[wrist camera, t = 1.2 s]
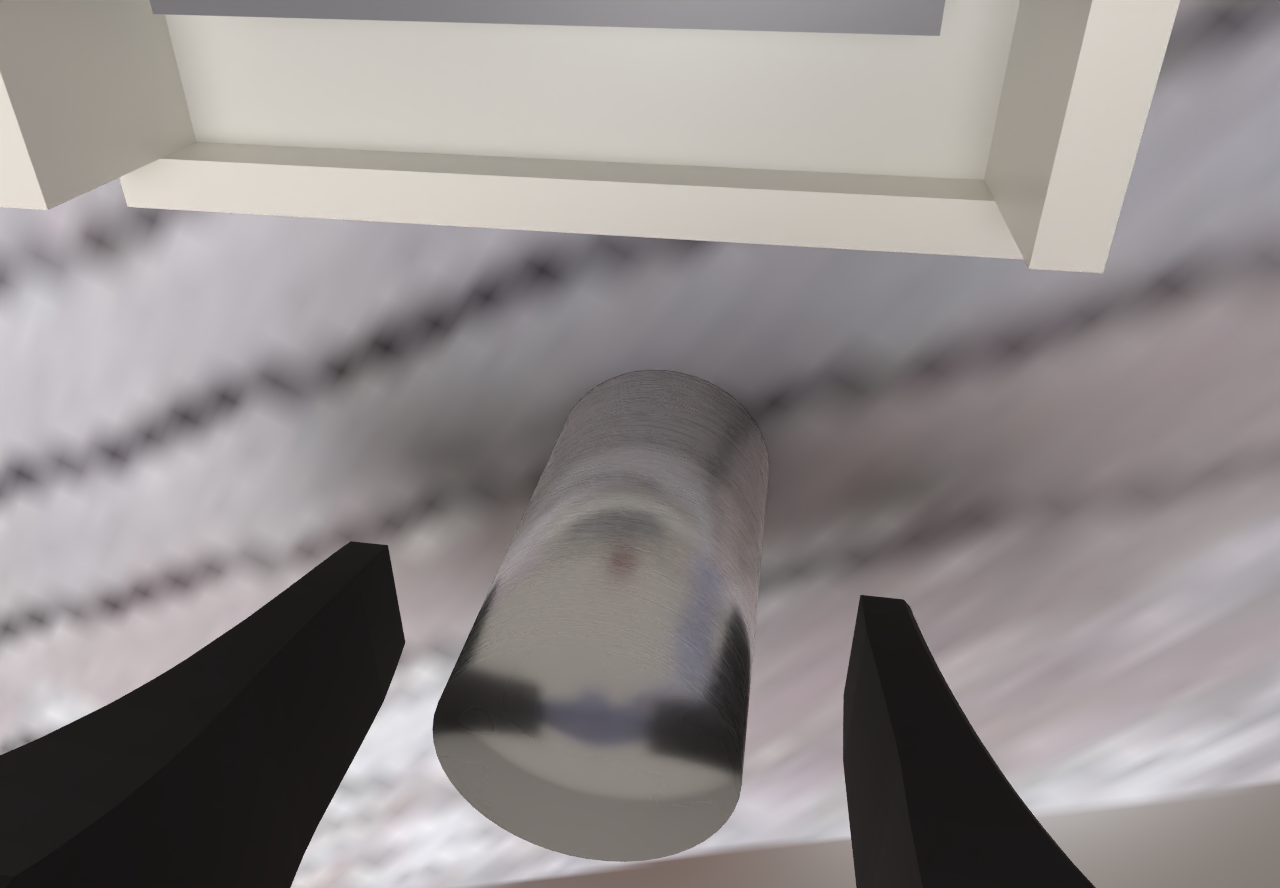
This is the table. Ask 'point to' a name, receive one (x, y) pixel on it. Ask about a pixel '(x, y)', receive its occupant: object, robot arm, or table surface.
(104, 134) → the walled box
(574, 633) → the metal plug
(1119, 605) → the table surface
